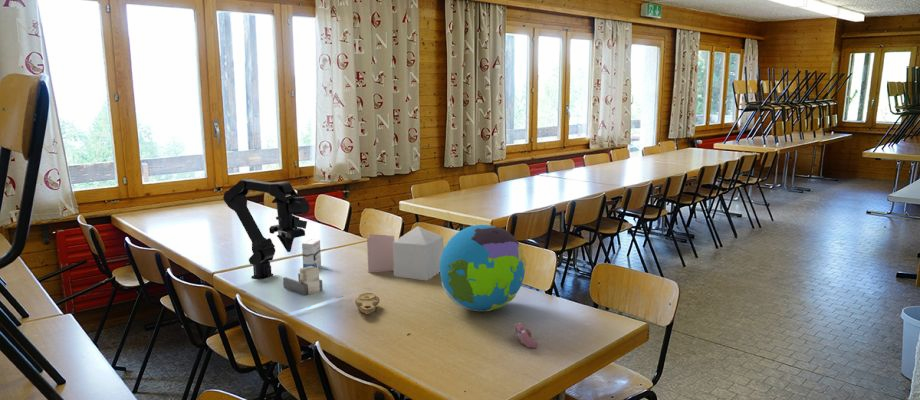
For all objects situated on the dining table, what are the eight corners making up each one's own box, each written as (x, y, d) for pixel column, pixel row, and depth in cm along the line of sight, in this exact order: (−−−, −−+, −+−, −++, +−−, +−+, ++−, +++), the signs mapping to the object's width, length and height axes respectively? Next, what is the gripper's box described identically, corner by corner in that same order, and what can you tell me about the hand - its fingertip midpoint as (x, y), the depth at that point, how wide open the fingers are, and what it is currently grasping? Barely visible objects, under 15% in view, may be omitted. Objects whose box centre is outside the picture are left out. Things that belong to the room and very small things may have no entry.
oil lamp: (365, 320, 206) (364, 306, 205) (344, 308, 217) (344, 295, 216) (392, 313, 213) (391, 299, 212) (371, 302, 224) (370, 289, 223)
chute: (283, 290, 237) (283, 277, 236) (301, 285, 243) (300, 273, 242) (305, 298, 228) (304, 285, 227) (322, 292, 234) (322, 280, 233)
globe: (469, 332, 195) (469, 241, 189) (424, 305, 220) (422, 223, 214) (542, 314, 210) (544, 228, 205) (492, 290, 235) (492, 213, 230)
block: (300, 291, 232) (299, 268, 230) (312, 288, 235) (310, 265, 234) (308, 294, 228) (307, 271, 227) (319, 291, 232) (318, 268, 230)
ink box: (313, 270, 262) (312, 244, 260) (302, 270, 263) (301, 243, 260) (321, 265, 270) (320, 239, 268) (311, 264, 271) (309, 238, 269)
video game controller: (519, 341, 192) (509, 322, 191) (532, 334, 192) (522, 315, 191) (525, 354, 183) (515, 335, 181) (539, 347, 183) (529, 328, 181)
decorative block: (393, 276, 253) (392, 229, 250) (410, 266, 268) (409, 221, 264) (428, 280, 247) (427, 232, 244) (444, 269, 262) (443, 224, 258)
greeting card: (395, 269, 263) (395, 235, 260) (388, 274, 256) (387, 239, 253) (372, 267, 266) (370, 233, 263) (363, 272, 259) (362, 237, 257)
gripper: (315, 212, 243) (318, 250, 245) (291, 208, 256) (295, 244, 259) (289, 217, 235) (293, 256, 238) (266, 212, 248) (270, 250, 251)
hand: (289, 251), depth 246 cm, fingers closed
